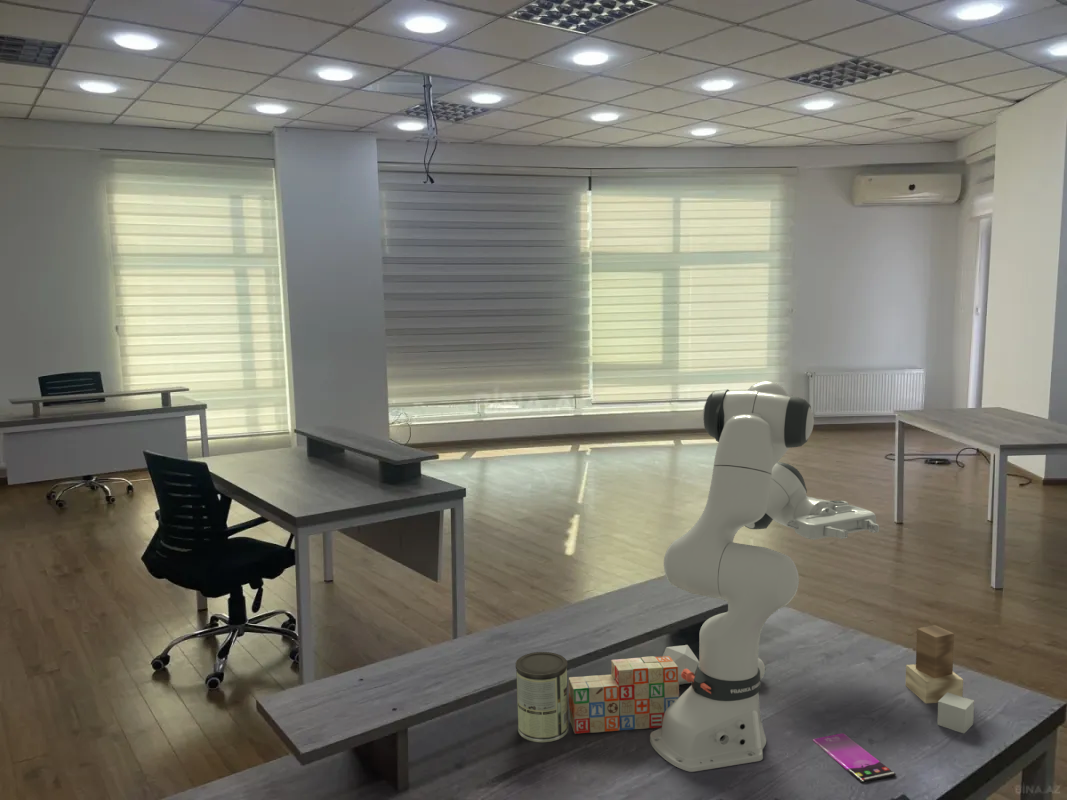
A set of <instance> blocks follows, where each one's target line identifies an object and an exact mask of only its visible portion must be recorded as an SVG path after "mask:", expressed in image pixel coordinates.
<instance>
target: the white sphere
mask: <svg viewBox="0 0 1067 800" xmlns="http://www.w3.org/2000/svg"><path fill="white" fill-rule="evenodd" d="M765 667H766V666H765V664H764V662H763V660H762V659H761V658H760V657H758V668H759V669H760V680H762V679H763V678H764V676H765V674H766V673H765V672H766V668H765Z"/></svg>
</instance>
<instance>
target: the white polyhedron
mask: <svg viewBox="0 0 1067 800" xmlns="http://www.w3.org/2000/svg"><path fill="white" fill-rule="evenodd" d="M664 656H670V658H671V659H672V660H673V661H674V662H675V664H676V665H677V666H678V682H679V686H680V685H686V684H687V685H688V684H691V683H692V682H687V681H686V680H685V679H683V678H682V677H681V674H682V673H681V672H683V670H684V669H688V670H690V672H693V673H694V674H695V671H696V668H697V666H698V664H699V659H698V658H697V656H696V655H695V653H694V652H693V650H692V649H691V648H690V646H689V645H688V644H685V645H674V646H667V647H665V649H664V652H663V654H662V656H661V657H664Z"/></svg>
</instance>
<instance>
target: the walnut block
mask: <svg viewBox="0 0 1067 800" xmlns="http://www.w3.org/2000/svg"><path fill="white" fill-rule="evenodd" d="M954 643H955V633H954V632H952V631H950V630H947V629H945V628H943V627H941V626H938V625H936V624H933V625H928V626H923V627H919V628H916V651H915V652H916V655H915V664H916V669H917V670H919V671H921V672H923V673H925V674H927V675H929V676H931V677H933V678H938V677H942V676H947V675H951V674H953V672H954V669H953V668H954V651H955V650H954V648H955V647H954Z"/></svg>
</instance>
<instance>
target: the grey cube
mask: <svg viewBox="0 0 1067 800" xmlns="http://www.w3.org/2000/svg"><path fill="white" fill-rule="evenodd" d="M974 712H975V700H974V699H970V698H967V697H965V696H964V697H961V696H958V695H954V694H951V693H948V692H947V693H946V694H945V695H944V696H943V697H942V698H941V699H940V700H939V701H938V703H937V720H936V721H937V723H936V724H937V726H941V727H943V728H947V729H949V730H952V731H955V732H958V733H961V734H965V733H966V732H967V731H968V730H970V728H971V727H972V726H973V725H974V718H975V717H974V715H975V713H974Z"/></svg>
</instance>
